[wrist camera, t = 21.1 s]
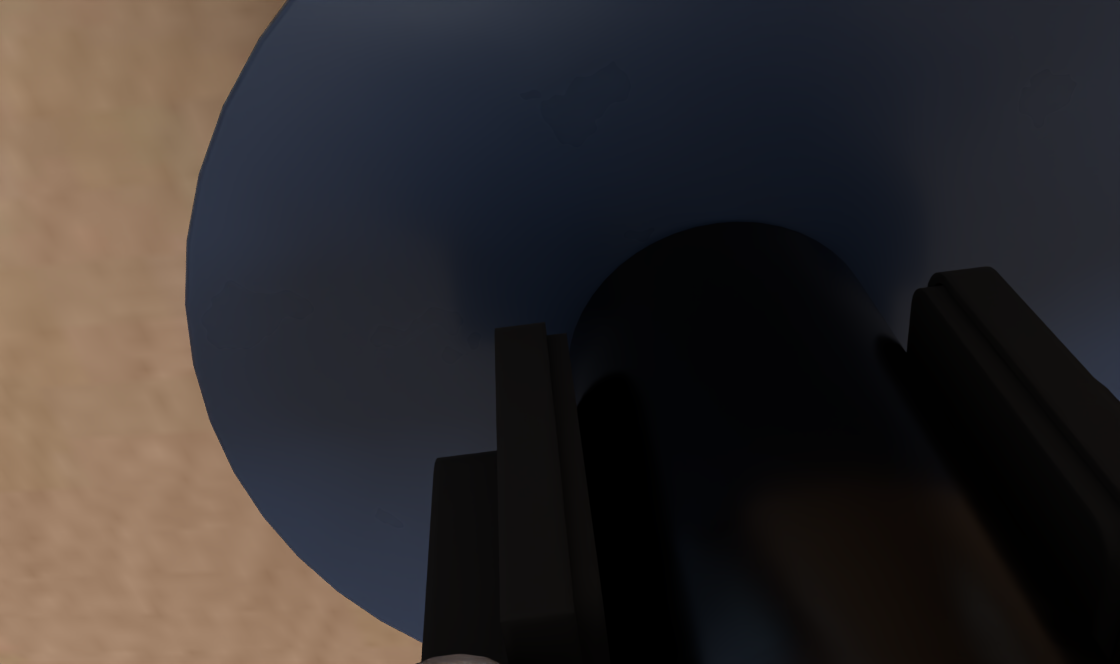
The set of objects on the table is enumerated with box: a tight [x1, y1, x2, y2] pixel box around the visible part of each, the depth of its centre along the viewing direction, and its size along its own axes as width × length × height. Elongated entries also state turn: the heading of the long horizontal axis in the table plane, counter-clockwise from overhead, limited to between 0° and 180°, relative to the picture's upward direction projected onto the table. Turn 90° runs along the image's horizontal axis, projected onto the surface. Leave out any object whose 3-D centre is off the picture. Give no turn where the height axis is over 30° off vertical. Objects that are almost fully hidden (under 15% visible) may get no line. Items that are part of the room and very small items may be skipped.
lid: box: [185, 0, 1120, 664], centre depth 10 cm, size 12×12×7 cm
